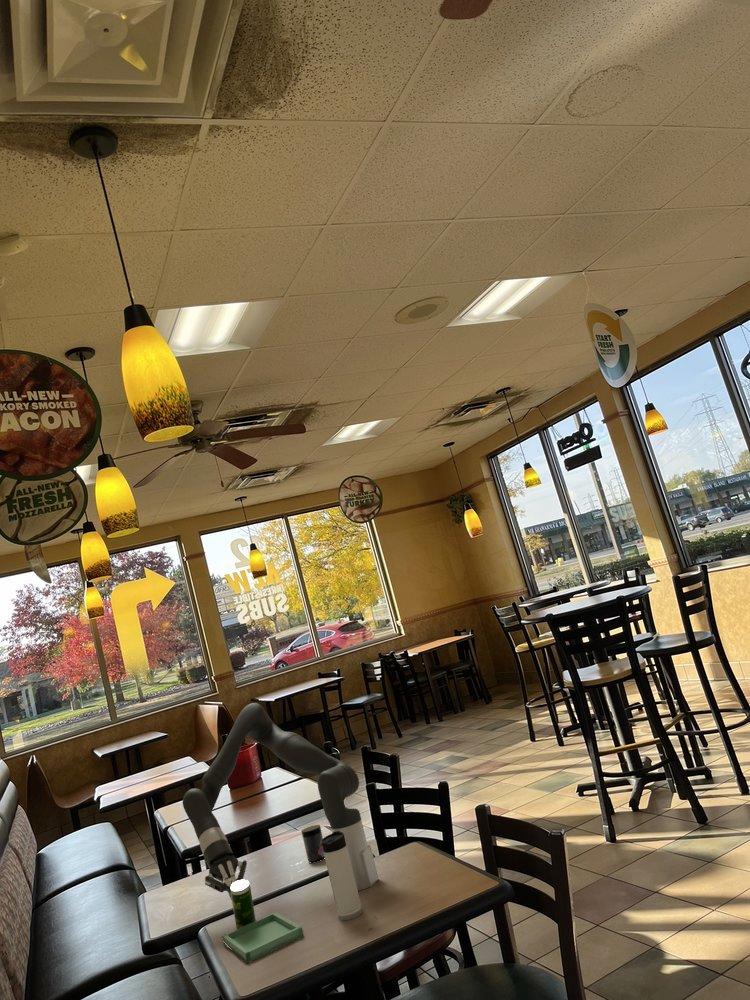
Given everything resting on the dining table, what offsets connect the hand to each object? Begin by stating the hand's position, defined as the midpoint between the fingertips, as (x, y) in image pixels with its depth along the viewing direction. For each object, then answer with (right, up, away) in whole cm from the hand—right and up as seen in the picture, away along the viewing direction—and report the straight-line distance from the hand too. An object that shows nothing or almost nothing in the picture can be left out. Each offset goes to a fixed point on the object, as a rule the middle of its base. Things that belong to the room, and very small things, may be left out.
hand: (237, 899), depth 200 cm
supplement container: (+18, -13, +49) cm, 54 cm away
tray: (+9, -3, -13) cm, 16 cm away
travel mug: (+32, +2, -12) cm, 34 cm away
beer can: (+3, -7, -2) cm, 7 cm away
